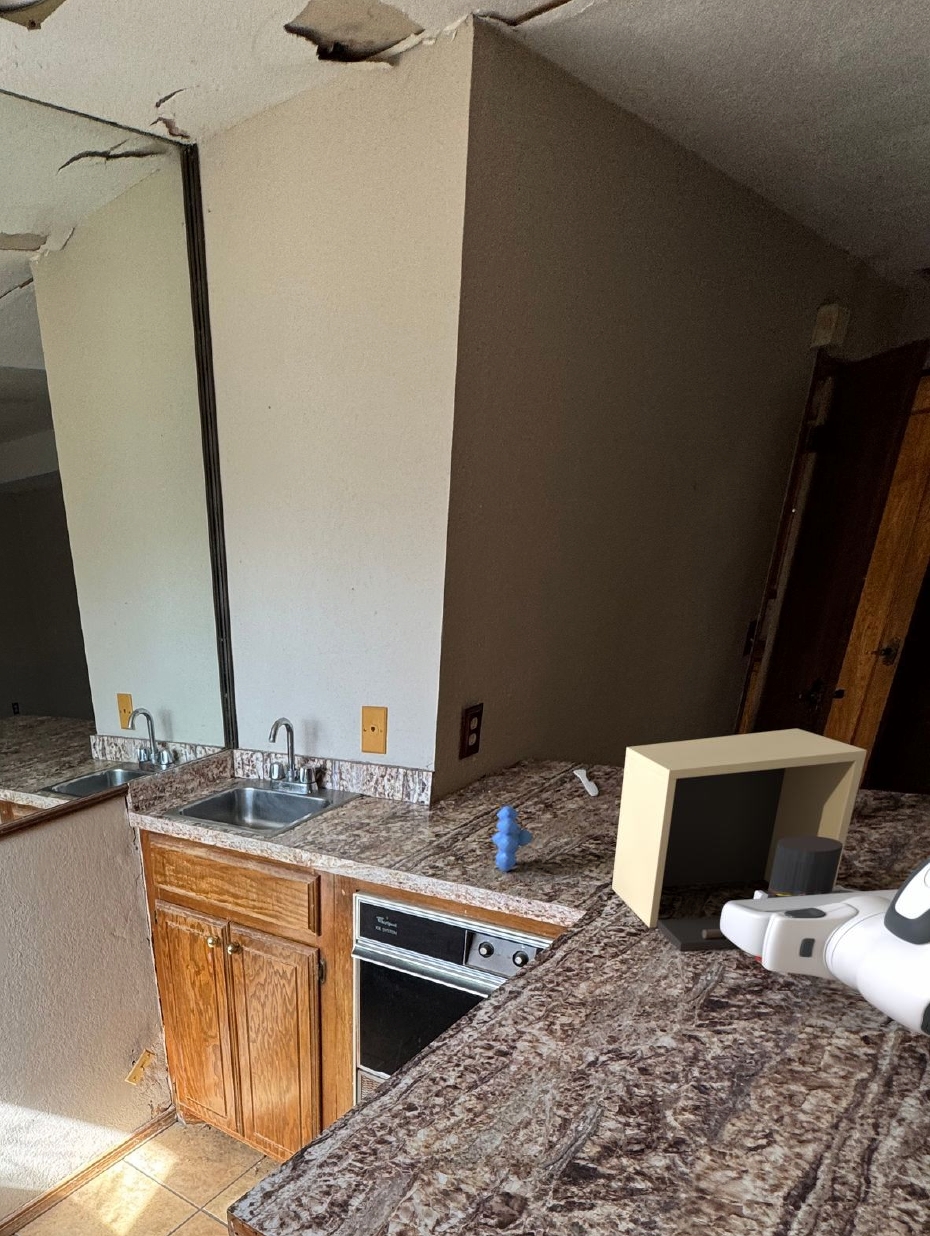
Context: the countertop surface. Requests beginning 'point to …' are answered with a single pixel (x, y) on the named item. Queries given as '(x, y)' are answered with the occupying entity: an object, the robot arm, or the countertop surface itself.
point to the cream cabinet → (724, 815)
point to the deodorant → (804, 867)
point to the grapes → (509, 838)
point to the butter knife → (587, 782)
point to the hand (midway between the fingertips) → (793, 893)
